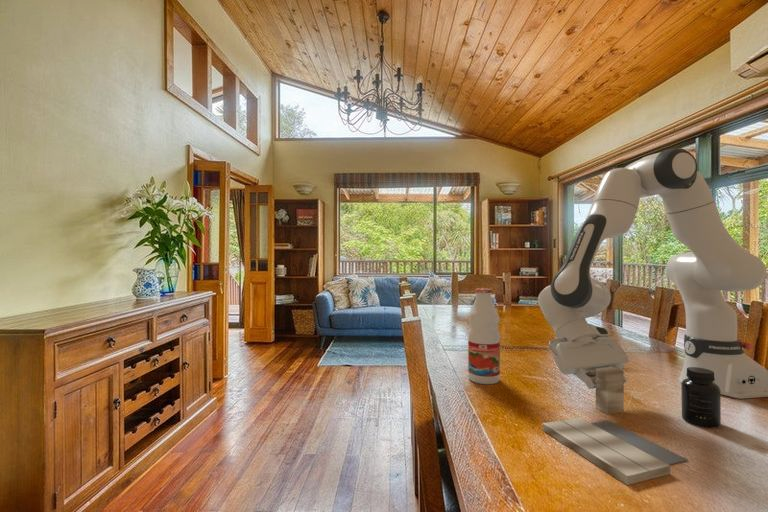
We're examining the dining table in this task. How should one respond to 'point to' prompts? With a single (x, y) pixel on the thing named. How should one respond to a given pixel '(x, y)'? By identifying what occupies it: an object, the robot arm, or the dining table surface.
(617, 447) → the floor panel
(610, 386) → the gray rectangular block
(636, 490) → the dining table surface
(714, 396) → the supplement bottle
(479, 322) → the fruit juice
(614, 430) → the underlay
